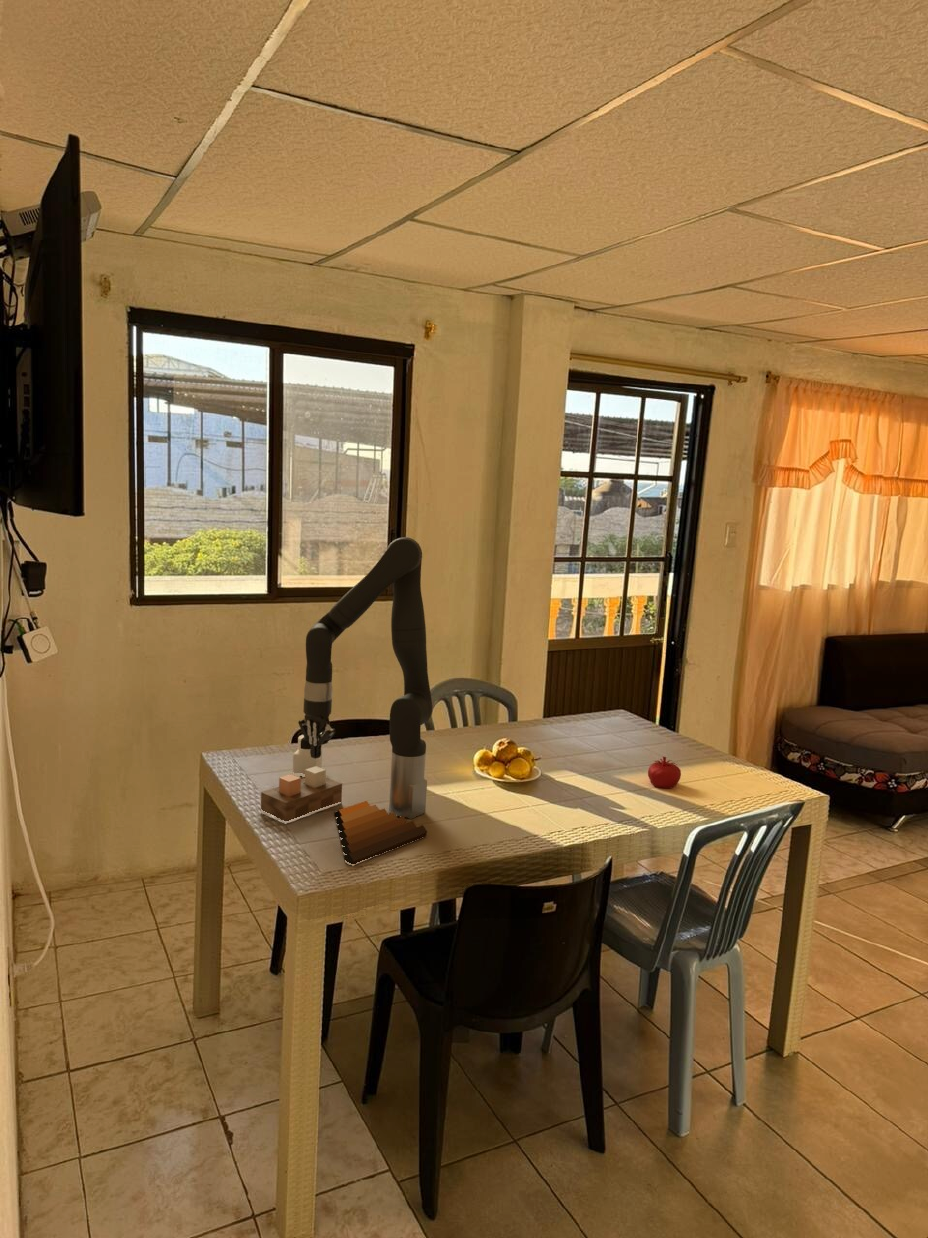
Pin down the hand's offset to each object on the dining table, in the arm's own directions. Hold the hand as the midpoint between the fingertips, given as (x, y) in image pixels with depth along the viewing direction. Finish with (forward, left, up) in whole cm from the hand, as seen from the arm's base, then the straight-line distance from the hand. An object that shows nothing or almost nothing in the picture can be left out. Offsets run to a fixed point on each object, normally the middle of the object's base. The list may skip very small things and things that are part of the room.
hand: (315, 757), depth 237 cm
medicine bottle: (+19, -14, -14) cm, 27 cm away
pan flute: (-23, +6, -14) cm, 28 cm away
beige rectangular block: (0, 0, -9) cm, 9 cm away
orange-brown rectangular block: (0, +9, -9) cm, 13 cm away
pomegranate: (-63, -88, -14) cm, 110 cm away
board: (0, +5, -14) cm, 14 cm away
